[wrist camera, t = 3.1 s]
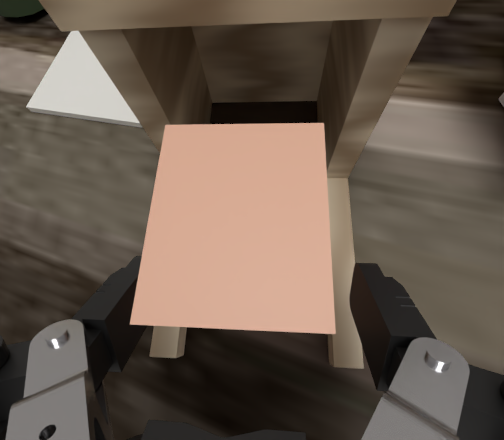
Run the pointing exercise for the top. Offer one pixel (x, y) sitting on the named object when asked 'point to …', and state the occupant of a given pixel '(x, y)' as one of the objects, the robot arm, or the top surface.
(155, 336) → the shelf lane
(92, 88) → the mat
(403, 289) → the robot arm
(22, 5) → the character mug
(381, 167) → the top surface
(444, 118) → the top surface
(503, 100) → the spiral staircase
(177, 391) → the top surface
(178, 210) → the block
